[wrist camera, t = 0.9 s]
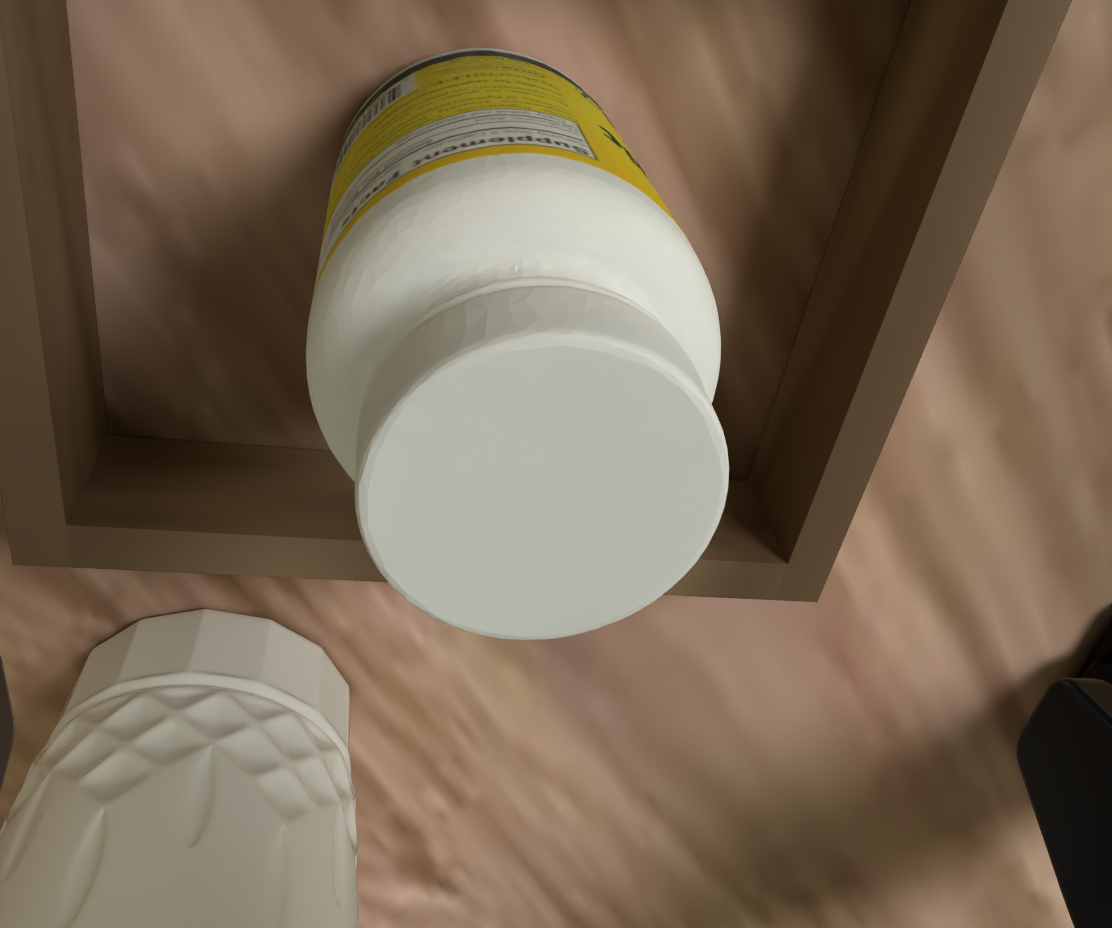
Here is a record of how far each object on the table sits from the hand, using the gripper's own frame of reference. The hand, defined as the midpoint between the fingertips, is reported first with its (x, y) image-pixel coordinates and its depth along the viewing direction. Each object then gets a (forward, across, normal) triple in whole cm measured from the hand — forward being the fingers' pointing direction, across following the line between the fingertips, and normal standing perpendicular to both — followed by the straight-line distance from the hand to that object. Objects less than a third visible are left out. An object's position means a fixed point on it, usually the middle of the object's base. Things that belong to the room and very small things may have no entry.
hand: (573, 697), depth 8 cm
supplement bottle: (+12, 0, 0) cm, 12 cm away
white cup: (+12, +5, +14) cm, 19 cm away
